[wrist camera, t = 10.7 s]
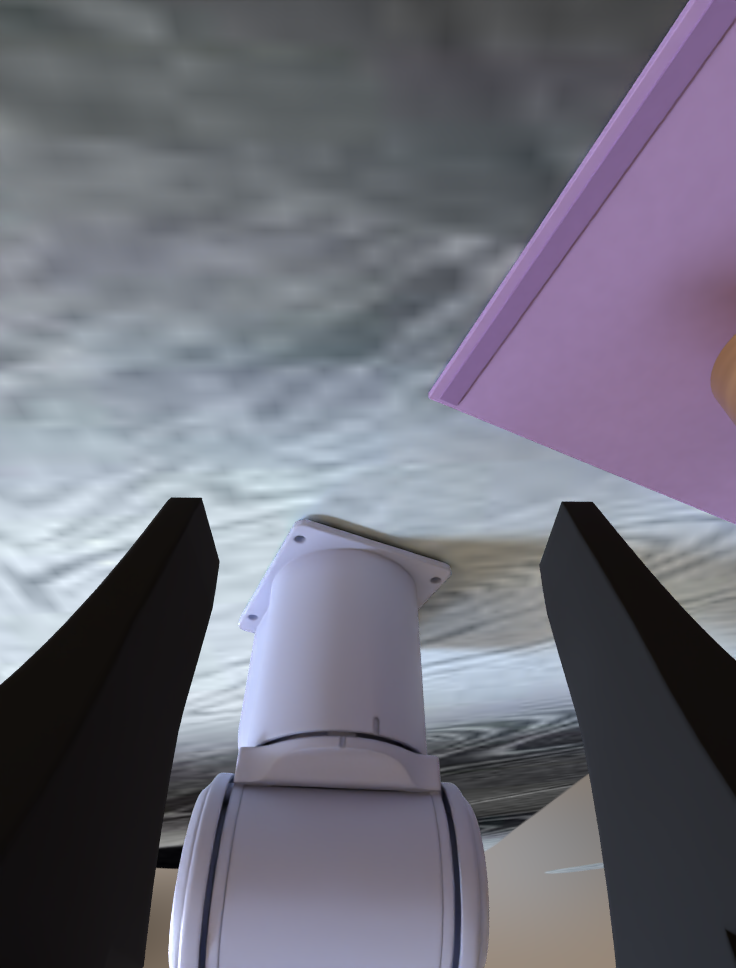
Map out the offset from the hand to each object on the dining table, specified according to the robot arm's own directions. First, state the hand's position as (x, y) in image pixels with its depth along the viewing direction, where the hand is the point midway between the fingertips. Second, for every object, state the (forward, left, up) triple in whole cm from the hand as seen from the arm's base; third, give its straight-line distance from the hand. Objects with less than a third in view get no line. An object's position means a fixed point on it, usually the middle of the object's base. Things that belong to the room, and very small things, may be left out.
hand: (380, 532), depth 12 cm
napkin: (+5, -13, -9) cm, 17 cm away
